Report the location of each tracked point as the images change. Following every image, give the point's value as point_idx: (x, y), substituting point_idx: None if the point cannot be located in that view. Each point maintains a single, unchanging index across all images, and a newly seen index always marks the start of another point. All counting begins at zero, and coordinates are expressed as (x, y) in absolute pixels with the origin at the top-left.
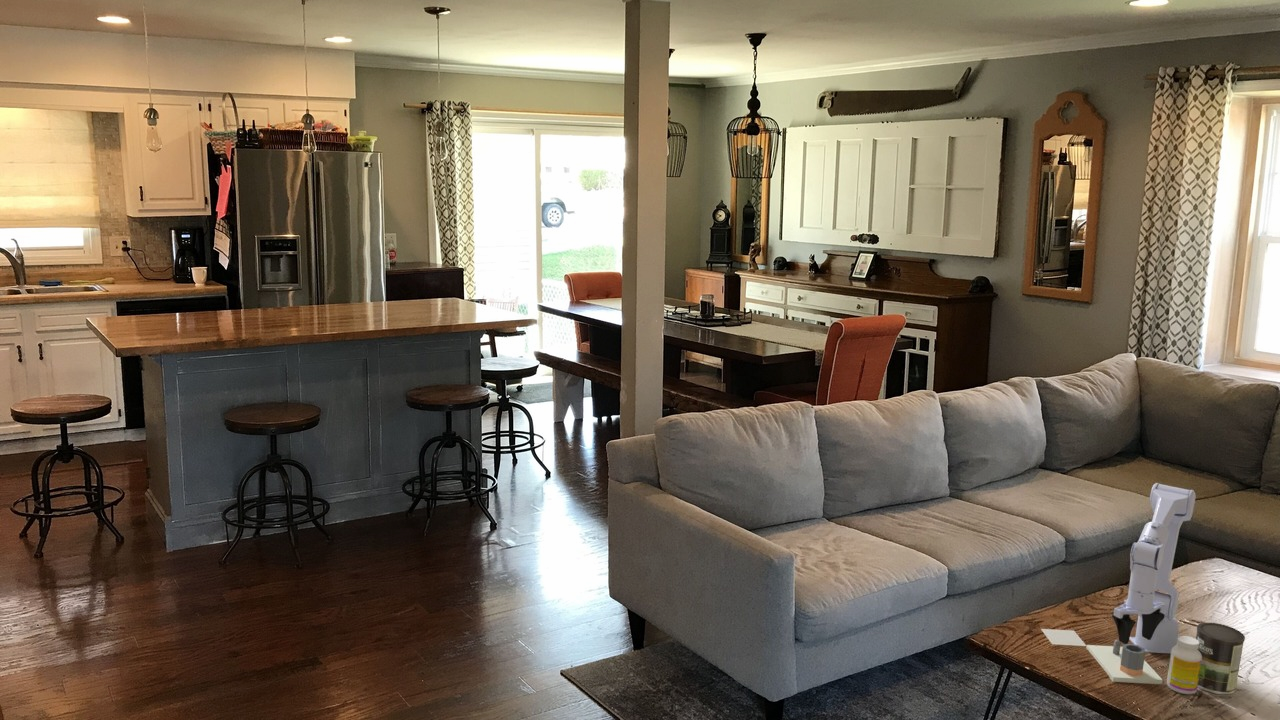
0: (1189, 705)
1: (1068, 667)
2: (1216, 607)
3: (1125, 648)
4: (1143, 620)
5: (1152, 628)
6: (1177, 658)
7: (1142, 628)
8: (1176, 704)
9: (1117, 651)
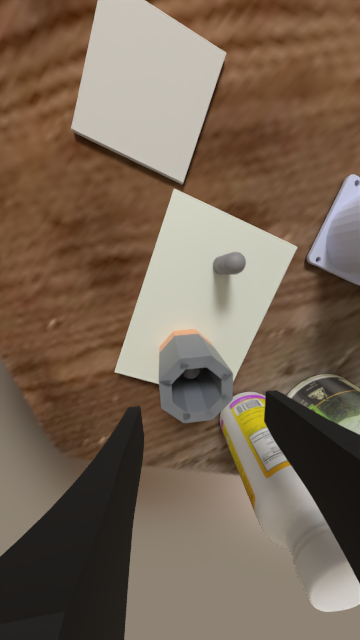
0: (205, 460)
1: (43, 279)
2: None
3: (165, 385)
4: (337, 455)
5: (309, 487)
6: (253, 506)
7: (292, 412)
8: (184, 455)
9: (220, 273)
